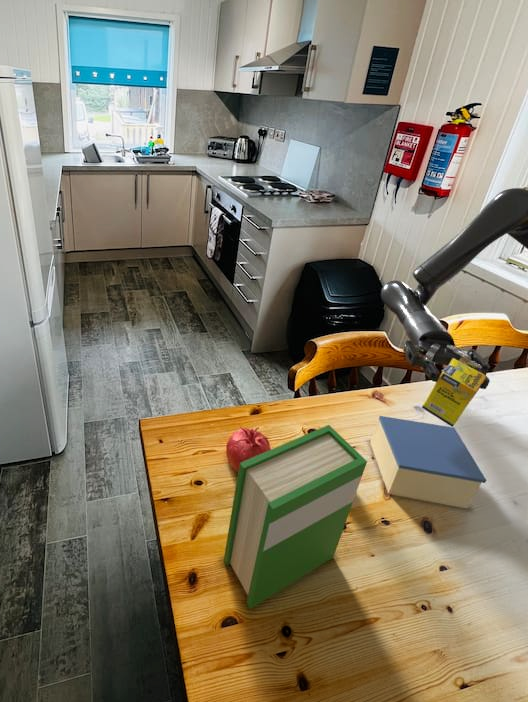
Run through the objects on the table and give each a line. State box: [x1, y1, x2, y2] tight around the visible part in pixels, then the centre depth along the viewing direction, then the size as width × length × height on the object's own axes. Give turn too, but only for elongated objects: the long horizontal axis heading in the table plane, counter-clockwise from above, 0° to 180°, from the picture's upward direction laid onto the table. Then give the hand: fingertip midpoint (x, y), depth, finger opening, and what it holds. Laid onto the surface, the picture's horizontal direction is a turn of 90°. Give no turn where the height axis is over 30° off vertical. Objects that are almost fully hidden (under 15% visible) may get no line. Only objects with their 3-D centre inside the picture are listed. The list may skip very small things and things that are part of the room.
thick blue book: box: [370, 418, 482, 510], centre depth 82 cm, size 15×13×8 cm
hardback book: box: [223, 424, 368, 610], centre depth 63 cm, size 18×7×24 cm, turn 116°
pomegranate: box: [225, 426, 272, 473], centre depth 83 cm, size 10×10×9 cm
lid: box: [378, 415, 487, 484], centre depth 80 cm, size 15×13×1 cm
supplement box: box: [421, 359, 487, 428], centre depth 78 cm, size 6×6×11 cm
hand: (461, 381), depth 76 cm, fingers closed on supplement box, 8 cm apart
